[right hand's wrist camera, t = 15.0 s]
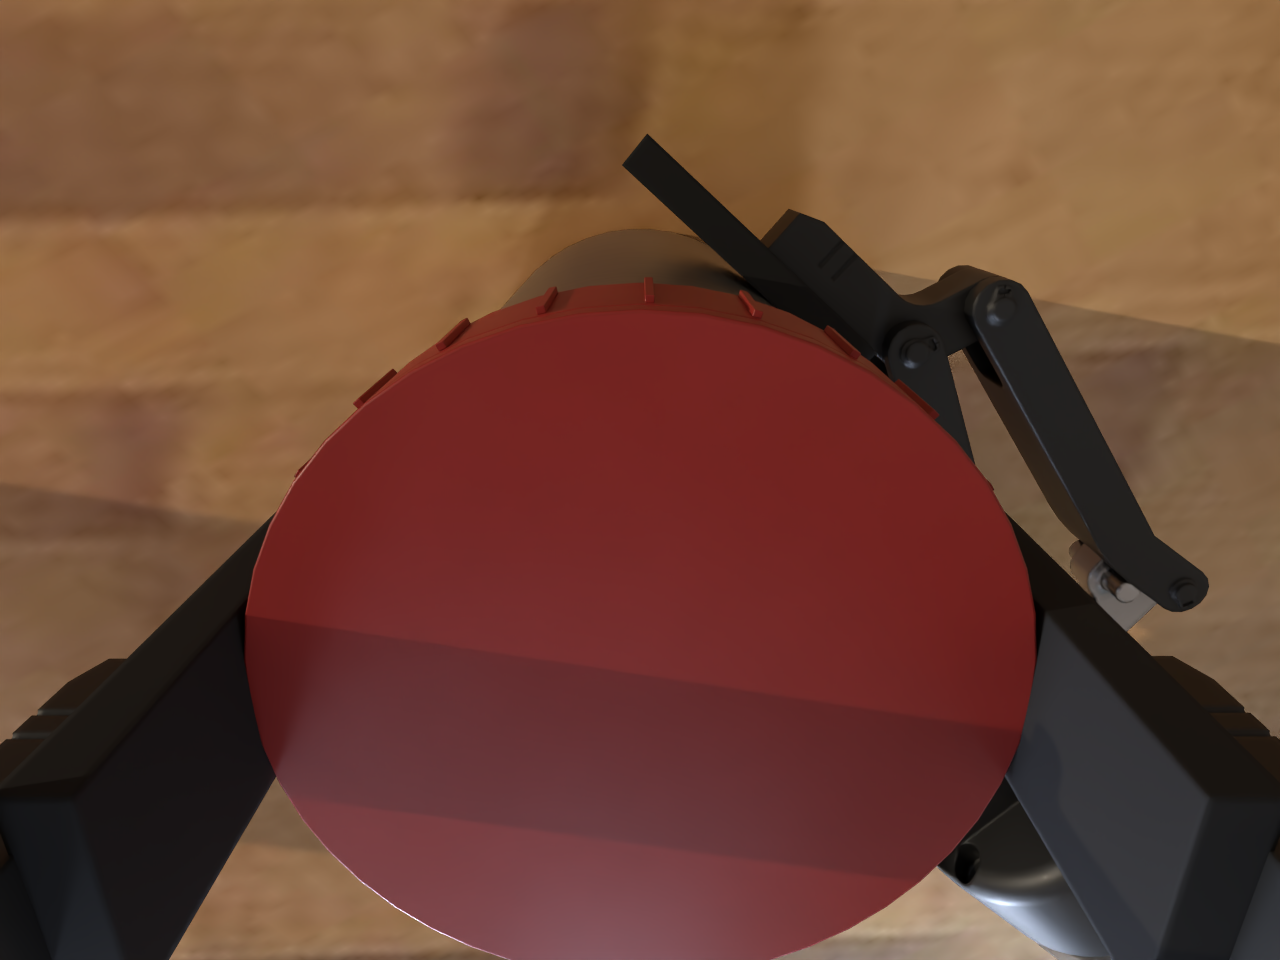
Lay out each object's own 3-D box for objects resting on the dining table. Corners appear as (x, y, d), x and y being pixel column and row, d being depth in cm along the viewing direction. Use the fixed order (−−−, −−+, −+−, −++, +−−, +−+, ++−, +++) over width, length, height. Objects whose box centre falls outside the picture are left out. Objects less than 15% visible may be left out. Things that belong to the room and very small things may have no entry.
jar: (628, 569, 28) (616, 1005, 14) (429, 370, 25) (157, 650, 11) (848, 395, 26) (1111, 698, 11) (654, 158, 23) (678, 165, 9)
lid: (1102, 388, 11) (1196, 435, 9) (840, 922, 15) (869, 1035, 13) (350, 180, 10) (282, 186, 8) (268, 807, 14) (209, 911, 12)
